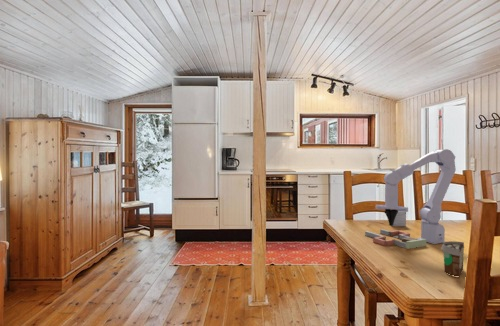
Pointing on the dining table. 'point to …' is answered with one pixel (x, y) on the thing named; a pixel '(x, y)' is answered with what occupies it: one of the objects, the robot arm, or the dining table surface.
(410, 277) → the dining table surface
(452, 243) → the food container
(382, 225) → the dining table surface
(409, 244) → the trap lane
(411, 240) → the walnut block
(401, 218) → the medicine box
